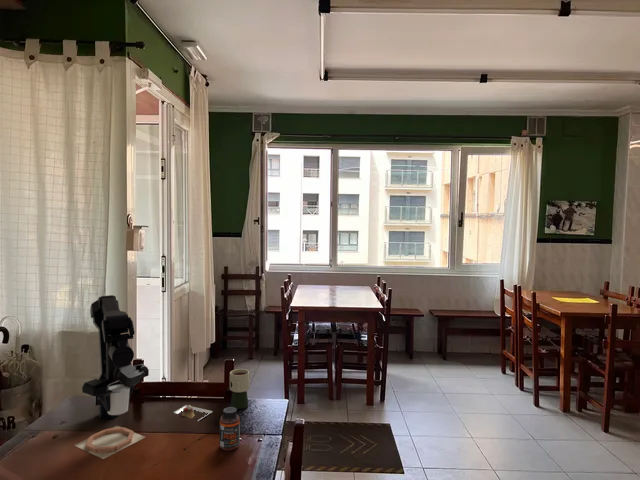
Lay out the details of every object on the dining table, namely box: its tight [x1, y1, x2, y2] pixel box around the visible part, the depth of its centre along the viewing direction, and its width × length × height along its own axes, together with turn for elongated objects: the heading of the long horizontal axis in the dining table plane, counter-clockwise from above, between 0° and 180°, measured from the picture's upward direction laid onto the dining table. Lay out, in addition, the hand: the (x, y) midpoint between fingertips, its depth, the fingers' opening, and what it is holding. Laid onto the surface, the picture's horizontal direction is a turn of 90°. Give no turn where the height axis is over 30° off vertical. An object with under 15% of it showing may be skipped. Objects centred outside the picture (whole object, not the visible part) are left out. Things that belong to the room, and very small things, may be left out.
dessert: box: [173, 404, 213, 422], centre depth 148 cm, size 12×12×5 cm
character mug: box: [229, 368, 250, 410], centre depth 156 cm, size 11×7×13 cm, turn 4°
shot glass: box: [107, 384, 130, 416], centre depth 130 cm, size 7×7×7 cm
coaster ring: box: [86, 426, 135, 453], centre depth 129 cm, size 12×12×1 cm
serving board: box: [73, 425, 146, 460], centre depth 129 cm, size 14×14×1 cm
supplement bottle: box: [218, 406, 241, 452], centre depth 129 cm, size 6×6×11 cm
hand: (117, 406), depth 130 cm, fingers closed on shot glass, 6 cm apart
